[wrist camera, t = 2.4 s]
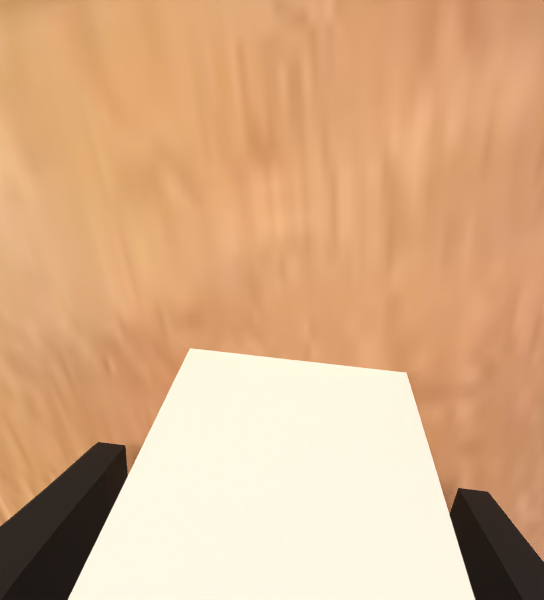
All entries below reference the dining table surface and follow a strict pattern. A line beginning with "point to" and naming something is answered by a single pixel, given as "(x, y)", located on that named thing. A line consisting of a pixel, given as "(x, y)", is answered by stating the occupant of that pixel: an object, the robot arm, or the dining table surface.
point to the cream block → (280, 492)
